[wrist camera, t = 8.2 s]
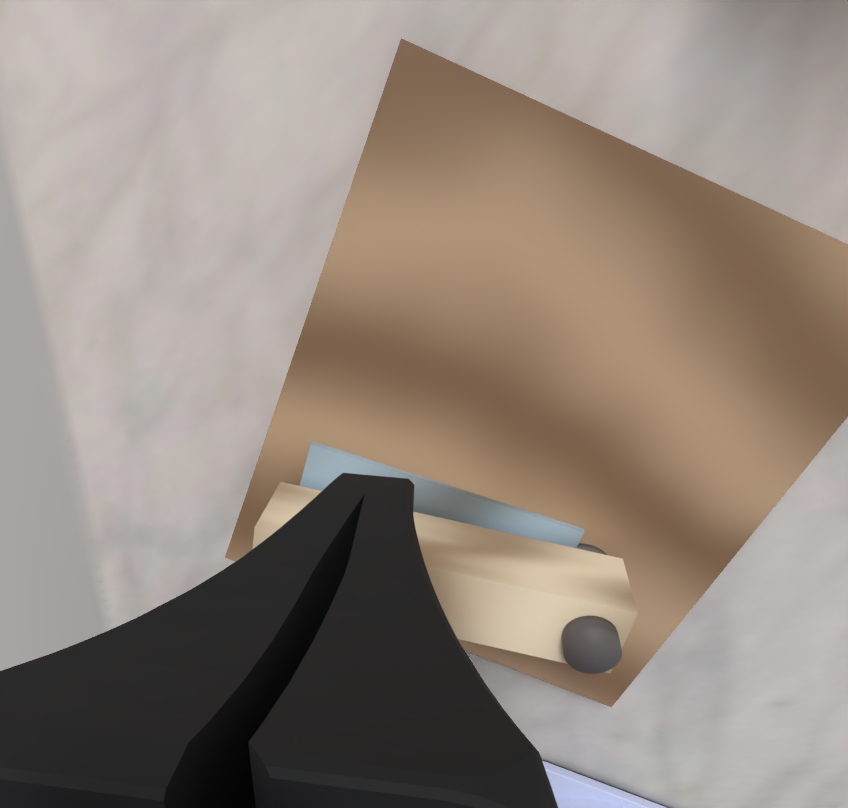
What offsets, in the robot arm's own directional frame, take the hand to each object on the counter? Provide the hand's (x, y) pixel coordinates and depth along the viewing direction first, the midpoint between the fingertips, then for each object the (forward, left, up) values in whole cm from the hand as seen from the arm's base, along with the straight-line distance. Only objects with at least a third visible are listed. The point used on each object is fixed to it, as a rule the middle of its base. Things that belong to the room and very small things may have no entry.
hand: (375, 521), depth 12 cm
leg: (-5, -3, -7) cm, 9 cm away
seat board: (-1, -4, -9) cm, 10 cm away
